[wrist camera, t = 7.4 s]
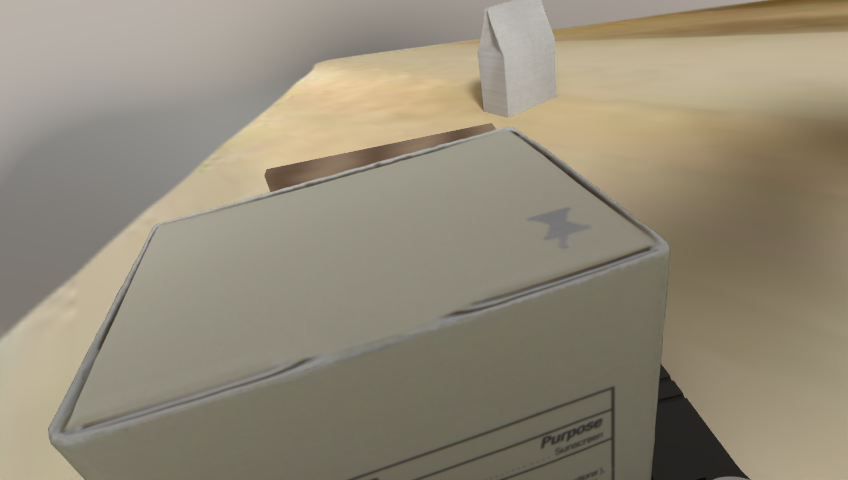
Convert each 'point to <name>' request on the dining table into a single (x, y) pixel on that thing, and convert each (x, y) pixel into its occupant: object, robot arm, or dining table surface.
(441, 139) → the frame
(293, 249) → the skincare box
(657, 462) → the robot arm
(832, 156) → the dining table surface
